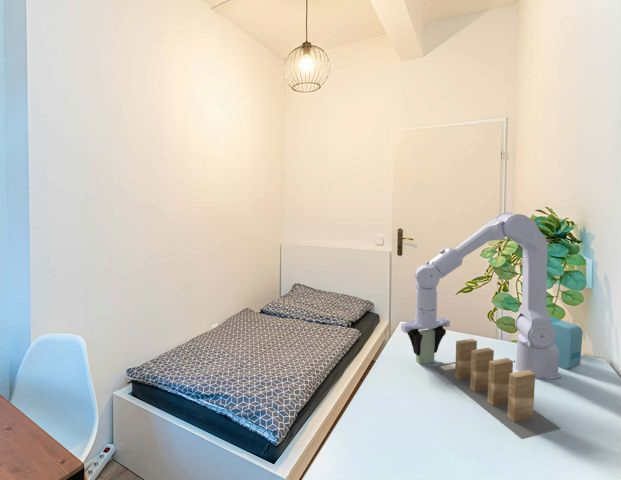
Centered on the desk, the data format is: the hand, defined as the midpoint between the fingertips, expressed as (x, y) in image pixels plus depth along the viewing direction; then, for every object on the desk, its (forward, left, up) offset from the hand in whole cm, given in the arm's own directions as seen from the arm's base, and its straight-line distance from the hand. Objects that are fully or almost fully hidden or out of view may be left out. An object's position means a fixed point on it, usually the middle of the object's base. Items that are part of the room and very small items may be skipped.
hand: (425, 352), depth 93 cm
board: (-5, +18, -3) cm, 19 cm away
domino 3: (-5, +22, -3) cm, 22 cm away
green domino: (0, 0, -3) cm, 3 cm away
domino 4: (-5, +27, -3) cm, 28 cm away
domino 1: (-5, +11, -3) cm, 12 cm away
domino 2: (-5, +16, -3) cm, 17 cm away
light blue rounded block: (-36, +9, -4) cm, 37 cm away
